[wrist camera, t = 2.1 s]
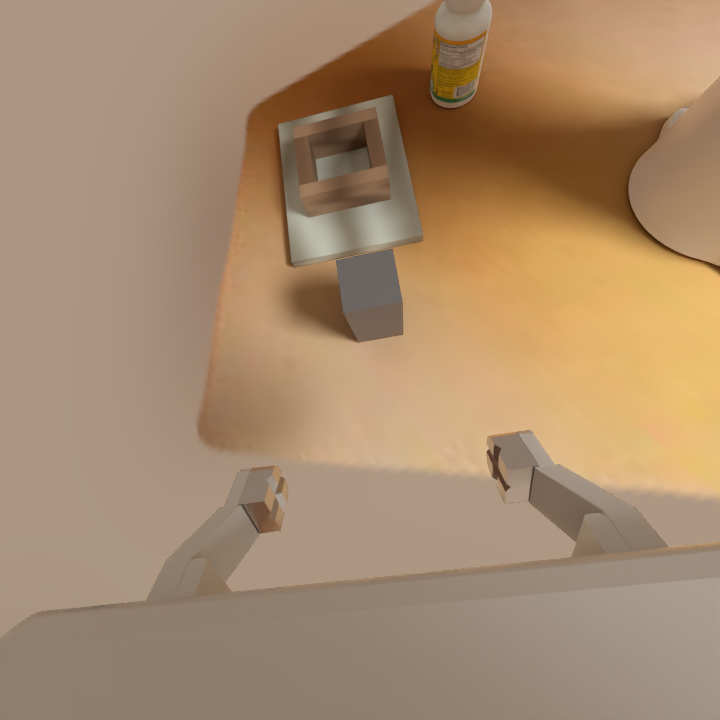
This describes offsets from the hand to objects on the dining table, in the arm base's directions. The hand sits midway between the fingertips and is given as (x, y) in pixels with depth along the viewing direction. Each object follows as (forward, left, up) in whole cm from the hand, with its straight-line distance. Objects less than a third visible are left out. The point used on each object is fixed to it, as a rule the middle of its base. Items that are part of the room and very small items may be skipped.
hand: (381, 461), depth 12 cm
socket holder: (+1, -29, -17) cm, 34 cm away
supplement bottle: (-13, -38, -17) cm, 44 cm away
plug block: (0, -12, -17) cm, 21 cm away
